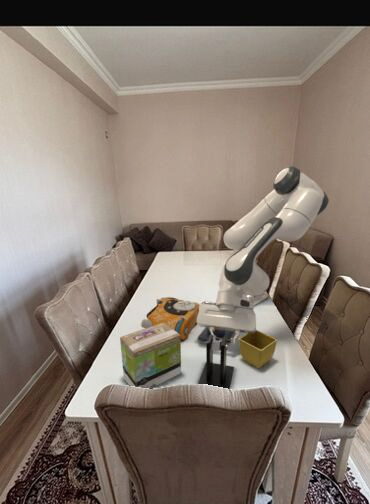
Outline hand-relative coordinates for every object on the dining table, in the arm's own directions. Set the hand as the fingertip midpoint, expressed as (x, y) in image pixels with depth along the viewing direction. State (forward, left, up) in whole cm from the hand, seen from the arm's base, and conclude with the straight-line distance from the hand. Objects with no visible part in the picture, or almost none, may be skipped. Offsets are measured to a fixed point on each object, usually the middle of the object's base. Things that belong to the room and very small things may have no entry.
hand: (223, 342), depth 83 cm
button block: (-6, -11, -6) cm, 14 cm away
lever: (+5, +4, +2) cm, 7 cm away
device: (+2, -31, -6) cm, 32 cm away
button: (-6, -11, -2) cm, 13 cm away
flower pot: (-7, +8, -6) cm, 12 cm away
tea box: (+24, -5, -6) cm, 25 cm away
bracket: (+9, +7, -6) cm, 13 cm away
